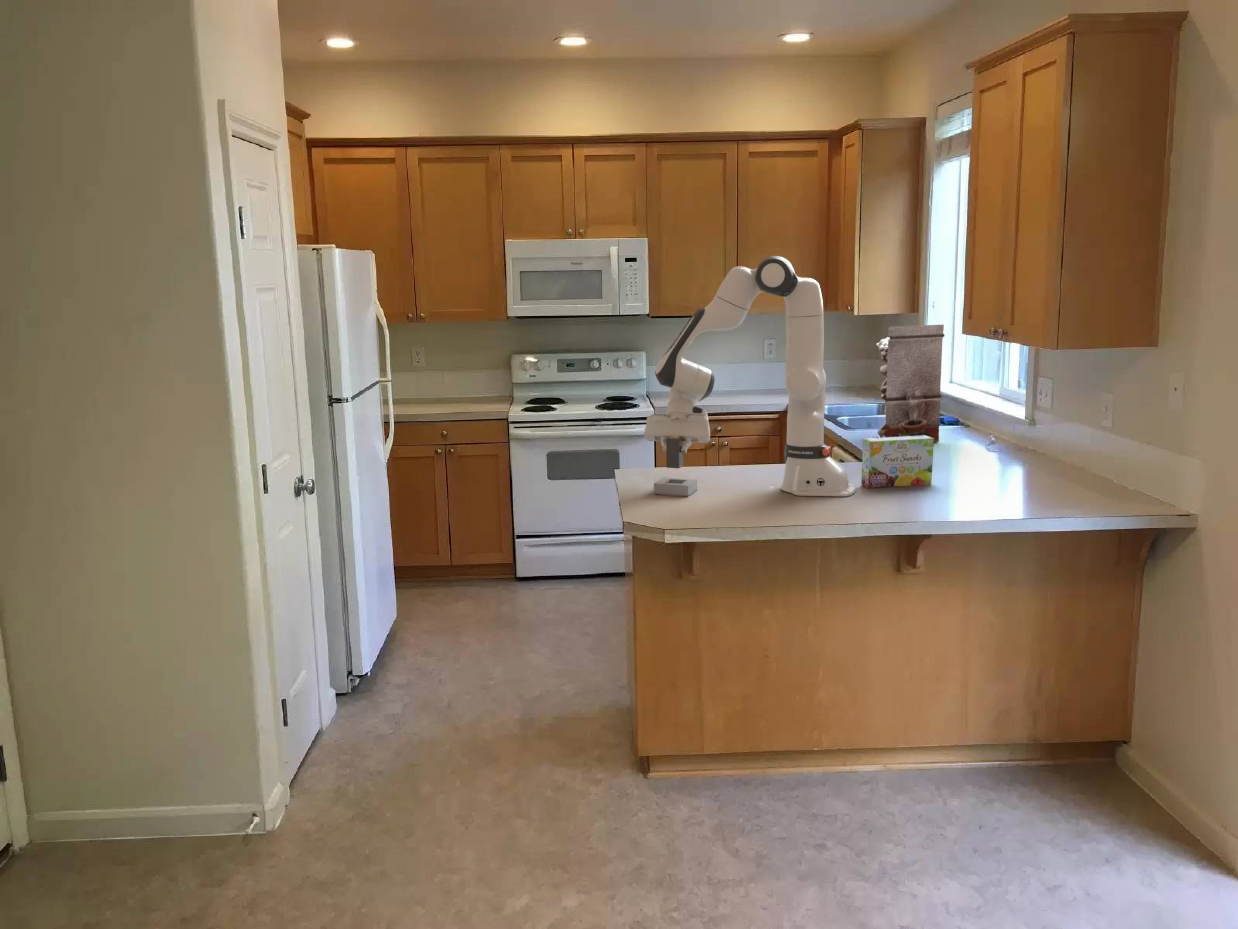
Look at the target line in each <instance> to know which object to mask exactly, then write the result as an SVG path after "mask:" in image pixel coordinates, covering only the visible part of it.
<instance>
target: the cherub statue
mask: <svg viewBox="0 0 1238 929" xmlns="http://www.w3.org/2000/svg"><path fill="white" fill-rule="evenodd" d="M944 327H945V325H944V324H924V325H923V324H922V325H899V326H898V325H897V326H896V325H895V326H888V337H886V338H882V339H881V340H880V341H879V342H877V343H876V347H877V348H878V350H879V353H880V356H881V360H882V361H884V362H885V363H886V364H884V365H881V366H880V368H879V372H880V373H881V374H882V375H883V376H885V377H886V379H885V380H884V381H883V382H882V384H881V387H880V390H879V391H880V393H881V397H880V398H881V399H883V400H884V403H885V405H884V409H883V410H884V415H885V421H884V423H883V424H882V425H881V427H879V429H878V430H877V434H878V437H880V438H884V437H891V434H890V431H889V430H886V429H885V426H886V425H891V426H899V427H901V426H900V424H901V423H903V422H904V421H906V420H910V419H924V420H926V421H927V423H926V426H925V434H924V435H925V436H929V437H931V438H934V443H939V442H940V440H939V439H940V434H939V433H940V421H941V419H940V418H941V417H940V416H941V413H940V410H941V399H942V394H941V386H942V383H941V378H942V377H941V376H942V360H943V359H942V355H943V354H942V353H943V340H944V337H945V334H944ZM894 433H895V436H896V437H899V434H901V433H900V431H898V430H894Z"/></svg>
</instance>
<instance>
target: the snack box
mask: <svg viewBox="0 0 1238 929" xmlns="http://www.w3.org/2000/svg"><path fill="white" fill-rule="evenodd" d="M864 438H865V439H863V438H862V440H863V441H862V461H861V462H862V463H861V481H860V484H861V486H863V487H865V486H866V487H865V488H866V489H875V488H874V487H881V488H892V487H891V486H899V487H914V485H915V486H928V485H929V484H930V485H932V479H933V478H932V477H933V476H932V475H933V461H934V447H935V446H934V445H935V442H934V438H931V437H929V436H925V435H923V436H903V437H884V438H872V437H864ZM930 485H929V486H930ZM889 486H890V487H889Z"/></svg>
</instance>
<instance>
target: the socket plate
mask: <svg viewBox="0 0 1238 929" xmlns="http://www.w3.org/2000/svg"><path fill="white" fill-rule="evenodd" d="M697 491H698V479H696V478H693V479H692V478H679V477H661V478H660V479H659V480H657V481H655V482H654V483H653V495H654V494H661V495H660V496H667V495H669V497H681V496H687V497H686V498H689V497H690V496H692V495H693V494H695V493H697ZM688 496H689V497H688Z"/></svg>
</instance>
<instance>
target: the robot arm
mask: <svg viewBox="0 0 1238 929" xmlns="http://www.w3.org/2000/svg"><path fill="white" fill-rule="evenodd" d="M761 293H766V294H770V295H775V296H778V297H781V298H783V300H784V305H785V306H784V307H785V332H786V334H785V335H786V337H785V338H786V339H785V340H786V341H785V342H786V343H785V344H786V347H785V351H786V352H785V374H784V375H785V378H784V379H785V380H784V381H785V382H784V383H785V389H786V392H787V393H788V406H787V417H786V443H785V446H784V462H785V467H784V474H783V479H782V483H781V486H780V489H781V490H782V491H784V492H787V493H790V494H793V495H795V496H803V497H805V496H807V497H808V496H810V497H849V496H852V495H853V493H854V494H855V493H856V491H857V489H856V488H857V487H856V485H855V484H852V483H850V482H849V475H848V471H847V470H846V468H845V467H844V466H842V465H841V464H840V463H838V462H837V461H836V460H834V458H832V457H831V446H830V445H827V444H825V443H824V440H825V438H824V431H825V410H826V409H825V408H826V391H827V387H826V386H827V374H826V371H825V369H824V350H825V349H824V348H825V338H824V337H825V333H824V332H825V330H824V329H825V327H824V325H825V324H824V322H825V321H824V319H825V318H824V304H823V302H824V301H823V296H822V291H821V287H820V284H819V282H818V281H817V280H815V279H814V278H811V277H800V276H797V274H796V273H795V269H794V267H793V265H792V263H791V262H790V260H788V259H787V258H785V257H783V256H779V255H772V256H768V257H767V258H764V259H763V260H761V261H760V262H759V264H758V265H757V267H756V268H753V269H752V268H749V267H747V266H741V265H739V266H735V267H732V268H731V269H730V270H729V271H728V273H727V274H726V276H725V277H724V279H723V280H722V282H721V284H720V285H719V287H718V289H717V291H716V293H715V296H714V298H713V299H712V300H711V301H710V303H709V304H708V305H706V306H705V307H704V308H703V307H701V308H698V309H697V310H696V311H695V312H694V313H693V314H692V316H690V318H689V319H688V321H687V322H686V324H685V325H684V326H683V328H682V330H680V332H679V334H678V335H677V337H676V339H675V340H674V342H672V344H671V345H670V347H669V349H668V350H667V351H666V352H665V354H664V355H663V356H662V357H661V359H659V361H658V363H657V365H656V367H655V371H654V374H655V377H656V380H657V382H658V383H659V384H660V385H661V386H664V387H667V388H670V389H669V393H668V394H669V396H668V397H669V400H668V402H667V406H666V412H665V414H664V413H659V414H658V413H657V414H656V413H652V414H650V415H649V416H647V417H646V422H645V423H646V425H645V428H644V432H643V433H644V434H643V435H644V439H645V440H646V441H647V442H660V443H661V446H662V453H666V439H667V438H669V437H670V436H671V435H680V437H683V443H685V444H683V445H682V448H681V451H682V453H683V454H687V452H688V449H689V448H690V447H691V446H692V444H693V443H702V444H703V443H704V444H705V443H708V442H709V441H710V439H711V428H710V422H709V415H708V414H709V413H708V412H707V409H706V408H703V407H700V406H696V404H697V403H698V402H701V401H703V400H704V399H707V397H710V395H711V394H712V392H713V389H714V387H715V386H714V385H715V375H714V372H713V370H712V369H710V368H708V367H706V366H704V365H702V364H699V363H696V362H693V361H690V360H688V359H686V358H684V357H683V356H684V355H685V353H686V352H687V350H688V348H689V347H690V346H691V345H692V343H693V341H694V340H695V338H696V337H697V336H698V335H700V334H702V333H705V332H727V331H733V330H735V329H737V328H738V327H740V326H741V325H742V324H743V322H744V320H746V319H745V318H746V317H747V315H748V313H749V310H750V308H751V306H752V304H753V303H754V300H755V298H757V296H758V295H759V294H761Z"/></svg>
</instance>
